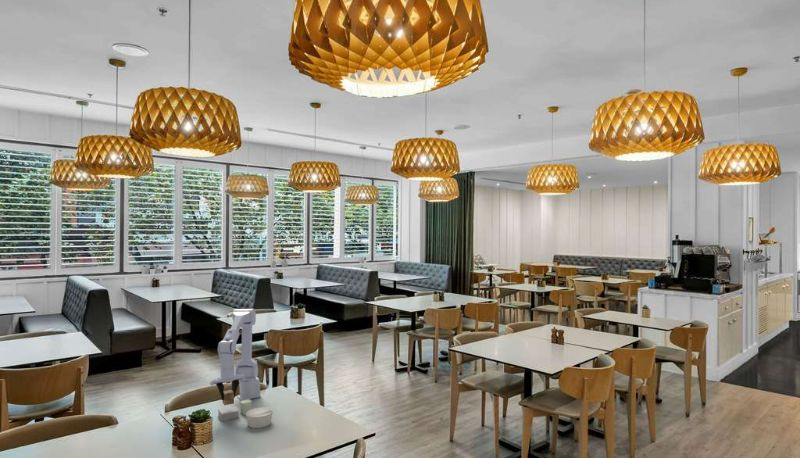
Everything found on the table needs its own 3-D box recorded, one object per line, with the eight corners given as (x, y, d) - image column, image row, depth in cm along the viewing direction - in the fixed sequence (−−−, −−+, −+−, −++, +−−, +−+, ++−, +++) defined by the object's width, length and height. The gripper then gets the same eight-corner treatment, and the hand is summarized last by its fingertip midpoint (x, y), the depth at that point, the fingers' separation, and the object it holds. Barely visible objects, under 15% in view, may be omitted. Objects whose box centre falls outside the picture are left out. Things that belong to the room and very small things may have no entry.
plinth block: (234, 412, 223) (234, 406, 223) (238, 417, 217) (238, 410, 217) (218, 416, 219) (218, 409, 219) (222, 421, 213) (222, 414, 213)
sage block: (249, 410, 226) (249, 399, 226) (251, 412, 222) (251, 401, 222) (240, 412, 224) (240, 401, 223) (242, 414, 220) (242, 403, 220)
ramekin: (265, 430, 202) (265, 417, 202) (240, 428, 205) (240, 416, 205) (277, 419, 213) (277, 407, 213) (253, 418, 216) (253, 406, 216)
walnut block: (231, 400, 220) (231, 389, 220) (234, 403, 217) (233, 392, 217) (222, 402, 218) (222, 391, 218) (224, 405, 215) (224, 393, 215)
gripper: (212, 372, 210) (212, 404, 210) (246, 367, 218) (247, 397, 218) (208, 369, 216) (209, 399, 216) (242, 363, 224) (242, 393, 224)
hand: (228, 398), depth 218 cm, fingers closed on walnut block, 4 cm apart
